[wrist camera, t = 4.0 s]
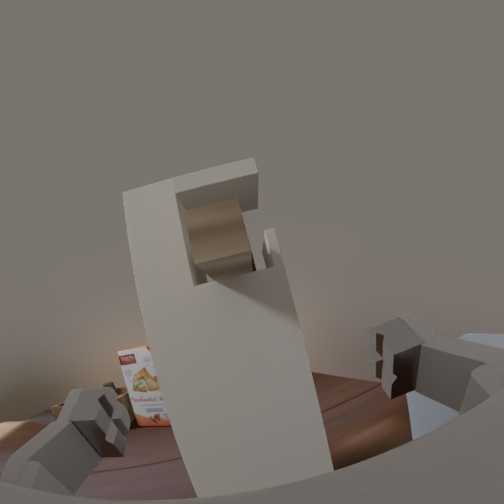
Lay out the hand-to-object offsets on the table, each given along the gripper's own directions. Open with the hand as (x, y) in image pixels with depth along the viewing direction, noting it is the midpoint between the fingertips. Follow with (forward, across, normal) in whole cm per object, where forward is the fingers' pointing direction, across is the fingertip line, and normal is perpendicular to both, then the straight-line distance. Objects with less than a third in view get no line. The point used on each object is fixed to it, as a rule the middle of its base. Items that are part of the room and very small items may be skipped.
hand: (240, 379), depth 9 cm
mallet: (+16, 0, +4) cm, 16 cm away
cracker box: (+47, +28, +52) cm, 75 cm away
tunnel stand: (+7, +2, +28) cm, 29 cm away
